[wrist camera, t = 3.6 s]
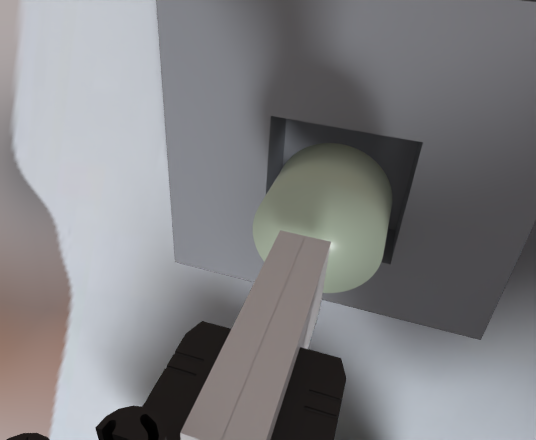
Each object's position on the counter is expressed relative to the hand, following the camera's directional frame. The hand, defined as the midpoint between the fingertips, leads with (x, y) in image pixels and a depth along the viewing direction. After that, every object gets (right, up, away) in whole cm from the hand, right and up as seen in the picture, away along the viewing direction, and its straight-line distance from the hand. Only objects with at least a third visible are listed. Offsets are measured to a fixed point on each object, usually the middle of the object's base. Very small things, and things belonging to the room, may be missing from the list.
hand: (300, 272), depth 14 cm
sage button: (+2, +3, +4) cm, 5 cm away
